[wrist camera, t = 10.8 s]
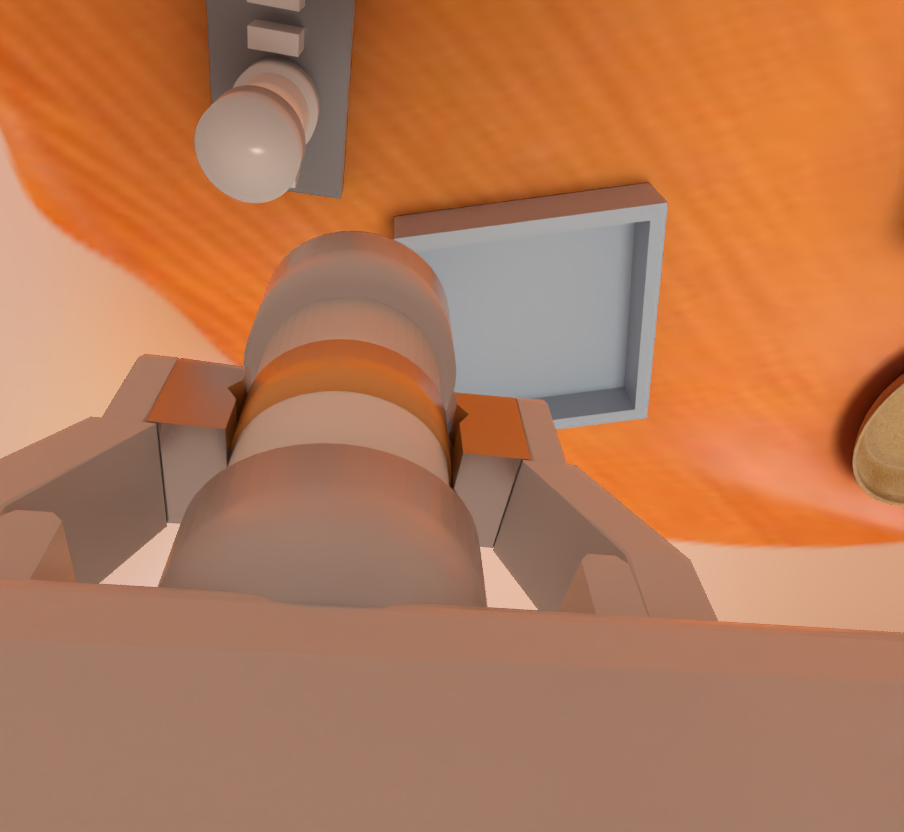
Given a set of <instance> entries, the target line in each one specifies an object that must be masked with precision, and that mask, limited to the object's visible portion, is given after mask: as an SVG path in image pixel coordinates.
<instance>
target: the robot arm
mask: <svg viewBox="0 0 904 832" xmlns="http://www.w3.org/2000/svg"><path fill="white" fill-rule="evenodd" d="M250 386H251V373H250V369H249V367H243V366H236V365H228V364H221V363H213V362H206V361H199V360H191V359H184V358H181V359H179V358H177V357H169V356H160V355H151V354H144V355H142V356H140V357H139V358H138V359H137V361H136V362H135V364H134V366H133V367H132V369H131V370H130V372H129V374H128V375H127V377H126V379H125V380H124V382H123V383H122V385H121V387H120V388H119V390H118V392H117V393H116V395H115V397H114V398H113V400H112V402H111V403H110V405H109V406H108V408H107V410H106V411H105V413H104V415H103V416H102V418H99V417H89V418H87V419H85V420H83V421H81V422H78V423H76V424H74V425H72V426H70V427H68V428H65V429H63V430H61V431H59V432H57V433H55V434H53V435H51V436H48V437H46V438H44V439H42V440H40V441H38V442H36V443H33V444H31V445H29V446H27V447H25V448H23V449H21V450H18V451H17V452H14V453H12V454H10V455H8V456H6V457H3V458H1V459H0V832H904V633H901V632H884V631H869V630H852V629H836V628H835V629H834V628H819V627H803V626H787V625H786V626H785V625H769V624H754V623H737V622H721V621H718V619H717V617H716V615H715V613H714V611H713V609H712V606H711V604H710V602H709V600H708V598H707V595H706V593H705V591H704V589H703V587H702V585H701V582H700V580H699V578H698V576H697V574H696V571H695V569H694V567H693V565H692V563H691V561H690V559H688V558H687V557H686V556H685V555H684V554H682V553H681V552H680V551H679V550H678V549H676V548H675V547H674V546H673V545H672V544H670V543H669V542H668V541H667V540H665V539H664V538H663V537H662V536H661V535H659V534H658V533H657V532H656V531H655V530H653V529H652V528H651V527H650V526H649V525H647V524H646V523H645V522H644V521H643V520H641V519H640V518H639V517H638V516H636V515H635V514H634V513H633V512H632V511H630V510H629V509H628V508H627V507H626V506H624V505H623V504H622V503H621V502H620V501H618V500H617V499H616V498H615V497H613V496H612V495H611V494H610V493H609V492H607V491H606V490H605V489H604V488H603V487H601V486H600V485H599V484H598V483H597V482H595V481H594V480H593V479H592V478H590V477H589V476H588V475H587V474H586V473H584V472H583V471H582V470H581V469H580V468H578V467H577V466H576V465H569V464H567V463H566V460H565V457H564V453H563V450H562V447H561V444H560V441H559V438H558V435H557V432H556V429H555V426H554V422H553V419H552V416H551V413H550V410H549V407H548V404H547V402H545V401H544V400H541V399H529V398H517V397H514V398H511V397H501V396H490V395H480V394H470V393H460V392H452V395H451V397H450V400H449V404H448V409H447V424H448V438H449V448H450V459H451V473H452V478H451V485H450V487H451V488H452V489H453V490H454V491H455V493H456V494H457V495H458V496H459V497H460V498H461V499H462V500H463V502H464V503H465V505H466V507H467V508H468V510H469V511H470V513H471V515H472V518H473V520H474V522H475V525H476V528H477V533H478V538H479V545H480V546H481V547H490V548H494V549H493V551H494V552H495V553H496V555H497V556H498V557H499V559H500V560H501V561H502V562H503V564H504V565H505V567H506V568H507V569H508V571H509V572H510V573H511V575H512V576H513V577H514V578H515V580H516V581H517V582H518V584H519V585H520V586H521V588H522V589H523V590H524V591H525V593H526V594H527V596H528V597H529V598H530V600H532V602H533V604H534V605H535V606H536V607H537V609H538V610H523V609H507V608H491V607H475V606H459V605H443V604H427V603H410V604H399V605H391V606H389V607H386V608H380V607H364V606H347V605H330V604H313V603H297V602H280V601H271V600H269V599H267V598H264V597H261V596H257V595H253V594H248V593H241V592H227V591H211V590H194V589H177V588H161V587H144V586H128V585H127V586H126V585H112V584H111V585H110V584H99V583H100V582H101V581H102V580H104V579H105V578H106V577H107V576H108V575H109V574H111V573H112V572H113V571H114V570H115V569H117V568H118V567H119V566H120V565H121V564H122V563H124V562H125V561H126V560H127V559H128V558H130V557H131V556H132V555H133V554H134V553H135V552H137V551H138V550H139V549H140V548H141V547H143V546H144V545H145V544H146V543H147V542H149V541H150V540H151V539H152V538H153V537H154V536H156V535H157V534H158V533H159V532H160V531H162V530H163V529H164V528H165V527H166V526H167V523H180V524H181V521H182V519H183V516H184V514H185V511H186V509H187V507H188V505H189V504H190V502H191V501H192V499H193V497H194V496H195V494H196V493H197V492H198V491H199V490H200V489H201V488H202V487H203V486H204V485H205V484H206V483H207V482H208V481H209V480H210V479H212V478H213V477H214V476H215V475H217V474H218V473H219V472H221V471H222V470H224V469H226V468H227V466H228V463H229V460H230V457H231V443H232V439H233V436H234V433H235V430H236V427H237V423H238V420H239V417H240V414H241V411H242V408H243V406H244V403H245V399H246V396H247V393H248V391H249V388H250Z"/></svg>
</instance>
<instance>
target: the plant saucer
mask: <svg viewBox="0 0 904 832" xmlns="http://www.w3.org/2000/svg"><path fill="white" fill-rule="evenodd" d="M852 464H853V473H854V476H855V479H856V481H857V483H858V485H859V486H860V487H861V488H862V489H863V491H864V492H865V493H867V494H868V495H869V496H871V497H872V498H875V499H876V500H879V501H881V502H884V503H887V504H891V505H897V506H904V373H903V374H901V375H900V376H899V377H898V378H897V379H895V380H894V381H893V382H892V383H891V384H890V385H889V386H888V387H887V388H886V389H885V390H884V391H883V392H882V393H881V394H880V396H879V397H878V398H877V399H876V401H875V402H874V404H873V405H872V407H871V408H870V410H869V411H868V413H867V414H866V416H865V418H864V420H863V422H862V424H861V426H860V429H859V431H858V434H857V438H856V441H855V445H854V451H853V462H852Z"/></svg>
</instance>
